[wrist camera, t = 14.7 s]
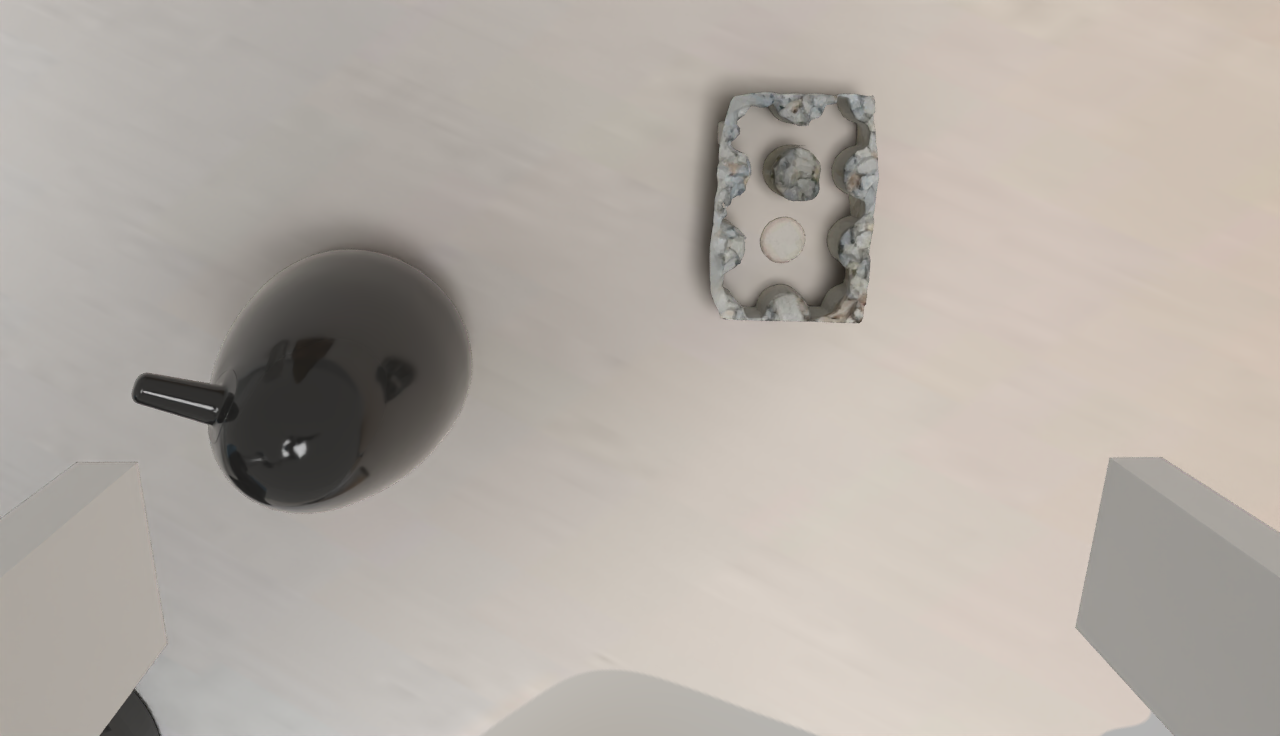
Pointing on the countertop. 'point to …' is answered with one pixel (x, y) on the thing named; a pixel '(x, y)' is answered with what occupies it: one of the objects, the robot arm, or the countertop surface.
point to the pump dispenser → (328, 382)
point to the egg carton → (798, 181)
